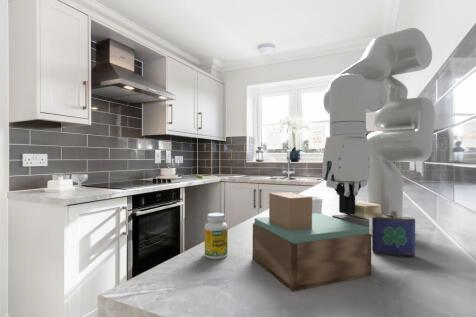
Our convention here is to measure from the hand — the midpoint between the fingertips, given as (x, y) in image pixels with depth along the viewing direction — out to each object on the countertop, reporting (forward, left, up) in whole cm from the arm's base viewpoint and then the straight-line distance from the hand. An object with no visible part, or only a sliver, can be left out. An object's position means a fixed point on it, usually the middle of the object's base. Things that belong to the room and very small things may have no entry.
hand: (347, 213), depth 61 cm
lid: (+11, 0, -3) cm, 11 cm away
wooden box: (+8, 0, -10) cm, 13 cm away
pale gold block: (-4, 0, -1) cm, 4 cm away
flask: (-13, +1, -11) cm, 17 cm away
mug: (-7, -25, -11) cm, 28 cm away
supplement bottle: (+27, -13, -11) cm, 31 cm away
